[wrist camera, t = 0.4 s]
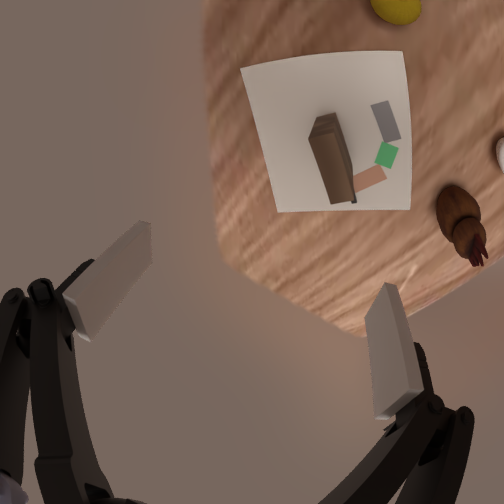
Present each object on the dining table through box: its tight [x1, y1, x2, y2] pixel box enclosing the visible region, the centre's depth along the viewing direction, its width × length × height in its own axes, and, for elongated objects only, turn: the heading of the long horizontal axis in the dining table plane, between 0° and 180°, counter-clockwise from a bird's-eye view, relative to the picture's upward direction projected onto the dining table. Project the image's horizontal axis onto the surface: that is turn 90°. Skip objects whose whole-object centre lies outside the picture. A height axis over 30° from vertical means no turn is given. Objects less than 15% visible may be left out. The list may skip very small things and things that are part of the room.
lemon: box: [370, 0, 421, 25], centre depth 15 cm, size 6×6×8 cm
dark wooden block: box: [308, 112, 357, 205], centre depth 29 cm, size 2×13×10 cm, turn 24°
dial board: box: [240, 51, 412, 212], centre depth 32 cm, size 20×22×2 cm
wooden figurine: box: [437, 187, 488, 267], centre depth 26 cm, size 7×6×15 cm
